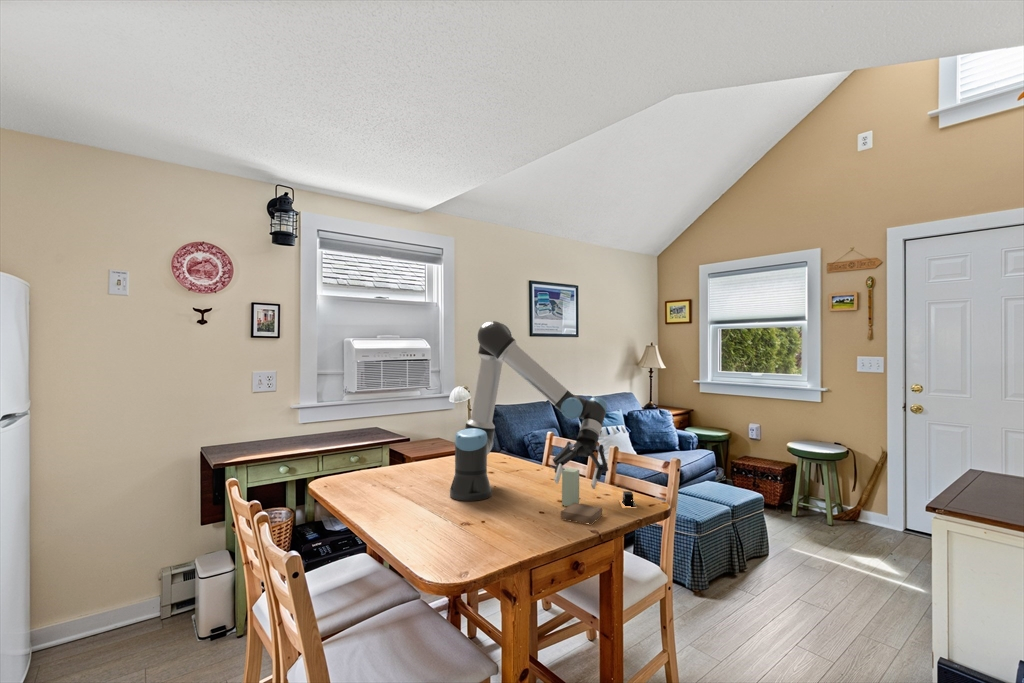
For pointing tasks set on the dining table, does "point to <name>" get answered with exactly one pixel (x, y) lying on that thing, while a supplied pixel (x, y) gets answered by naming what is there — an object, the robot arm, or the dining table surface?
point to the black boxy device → (628, 499)
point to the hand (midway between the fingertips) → (574, 484)
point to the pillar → (570, 486)
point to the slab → (581, 513)
